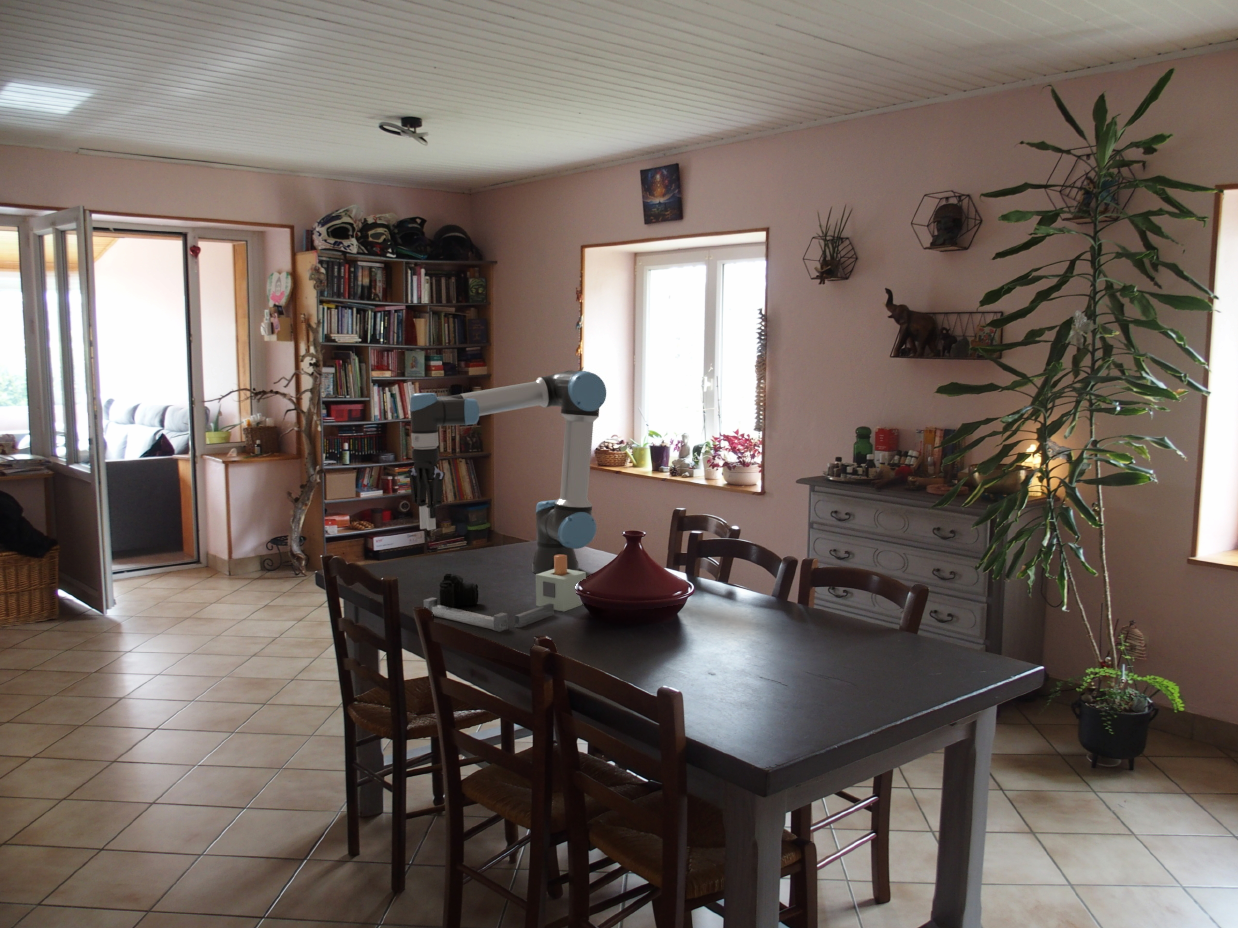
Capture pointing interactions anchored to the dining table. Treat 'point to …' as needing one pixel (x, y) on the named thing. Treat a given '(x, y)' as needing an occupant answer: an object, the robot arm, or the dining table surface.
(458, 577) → the film camera
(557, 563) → the gauge button
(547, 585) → the cabinet
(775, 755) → the dining table surface
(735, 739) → the dining table surface
